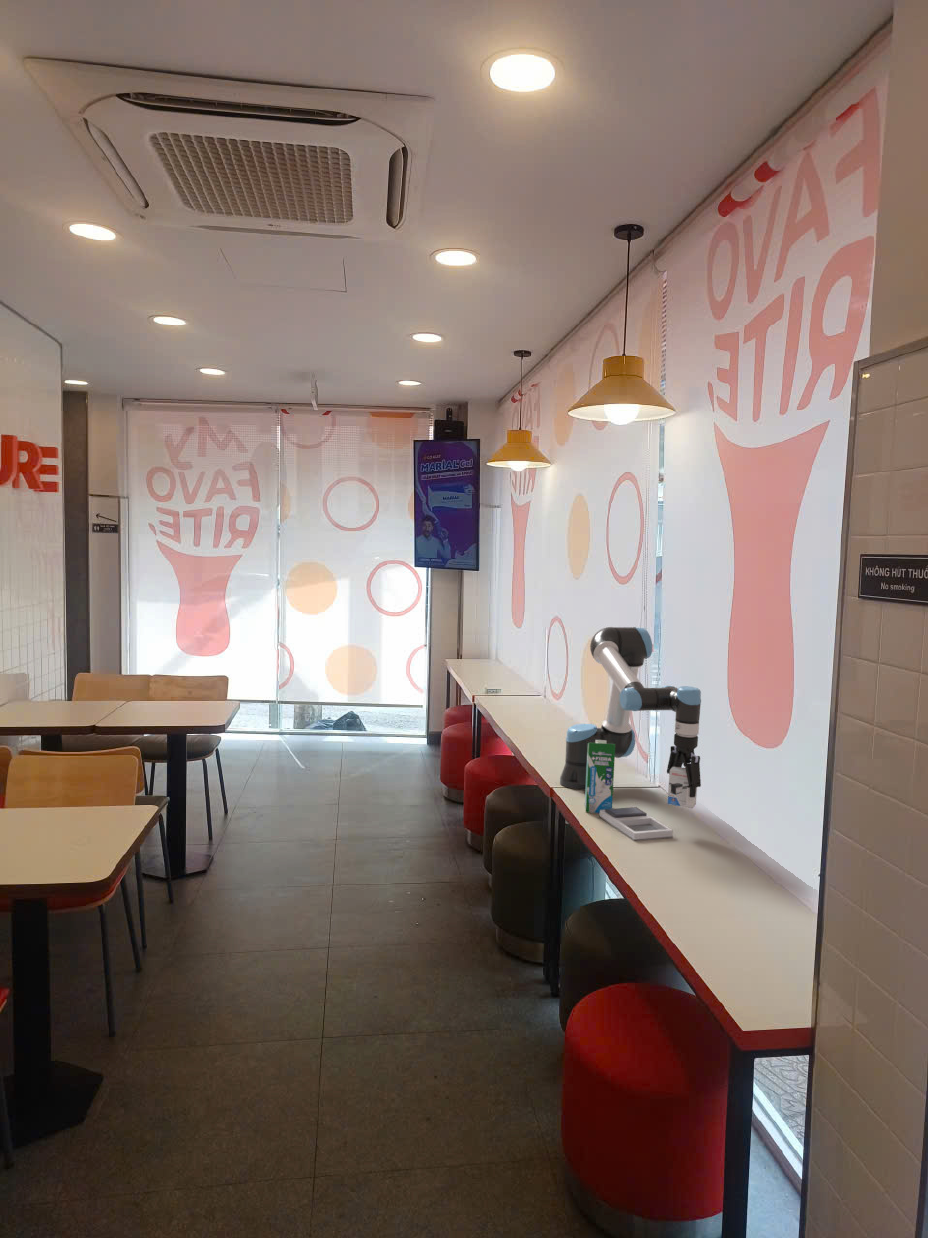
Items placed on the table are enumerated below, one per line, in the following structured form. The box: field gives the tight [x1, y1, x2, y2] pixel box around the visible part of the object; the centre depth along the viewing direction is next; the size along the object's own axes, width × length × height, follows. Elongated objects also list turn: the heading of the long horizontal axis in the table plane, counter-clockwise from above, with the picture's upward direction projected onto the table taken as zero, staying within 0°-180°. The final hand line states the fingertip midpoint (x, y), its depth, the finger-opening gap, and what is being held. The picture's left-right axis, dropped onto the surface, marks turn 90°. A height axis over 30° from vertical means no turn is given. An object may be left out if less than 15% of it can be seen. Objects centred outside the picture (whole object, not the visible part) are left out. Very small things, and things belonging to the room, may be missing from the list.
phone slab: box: [605, 806, 648, 818], centre depth 282 cm, size 7×12×1 cm, turn 108°
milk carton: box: [584, 740, 616, 814], centre depth 293 cm, size 9×9×25 cm
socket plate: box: [599, 810, 674, 842], centre depth 276 cm, size 24×14×2 cm, turn 18°
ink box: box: [667, 766, 698, 809], centre depth 272 cm, size 8×5×12 cm, turn 62°
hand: (681, 801), depth 272 cm, fingers closed on ink box, 9 cm apart
